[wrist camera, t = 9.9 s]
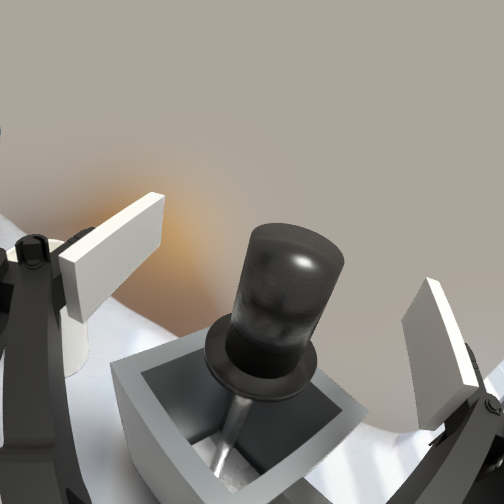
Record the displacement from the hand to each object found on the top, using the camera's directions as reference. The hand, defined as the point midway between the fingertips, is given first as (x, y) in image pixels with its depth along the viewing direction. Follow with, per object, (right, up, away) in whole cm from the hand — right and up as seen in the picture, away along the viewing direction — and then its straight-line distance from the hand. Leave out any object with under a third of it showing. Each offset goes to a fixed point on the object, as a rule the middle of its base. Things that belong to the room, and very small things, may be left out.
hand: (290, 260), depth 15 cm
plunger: (-5, -19, +7) cm, 21 cm away
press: (-5, -21, +7) cm, 23 cm away
